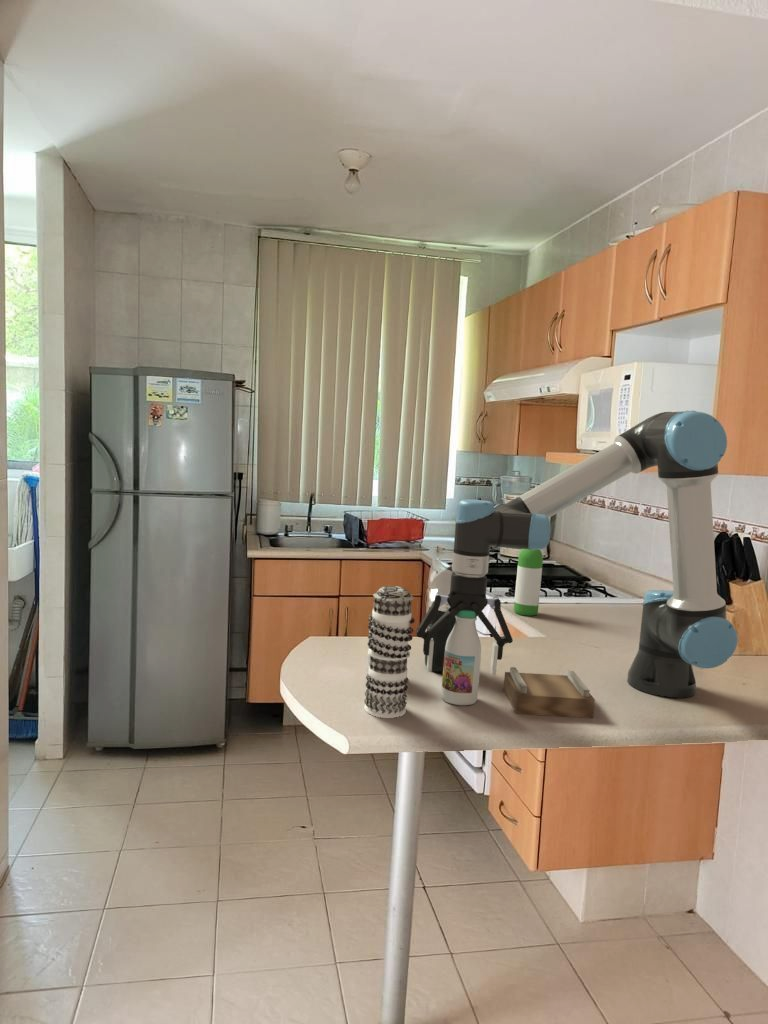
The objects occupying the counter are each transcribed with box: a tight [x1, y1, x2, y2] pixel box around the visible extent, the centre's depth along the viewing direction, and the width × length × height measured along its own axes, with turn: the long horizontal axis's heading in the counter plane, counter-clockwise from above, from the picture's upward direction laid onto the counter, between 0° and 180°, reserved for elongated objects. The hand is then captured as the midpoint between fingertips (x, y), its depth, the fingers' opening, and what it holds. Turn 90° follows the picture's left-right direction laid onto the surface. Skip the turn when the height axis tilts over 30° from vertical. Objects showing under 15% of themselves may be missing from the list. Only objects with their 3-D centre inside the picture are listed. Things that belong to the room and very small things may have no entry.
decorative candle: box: [363, 585, 416, 719], centre depth 146 cm, size 9×9×25 cm
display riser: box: [503, 666, 596, 719], centre depth 157 cm, size 16×14×6 cm
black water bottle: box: [424, 565, 456, 674], centre depth 174 cm, size 10×10×25 cm
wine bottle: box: [513, 549, 544, 617], centre depth 233 cm, size 8×8×30 cm
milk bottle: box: [440, 609, 482, 706], centre depth 154 cm, size 8×8×20 cm
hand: (460, 671), depth 155 cm, fingers open, 13 cm apart
